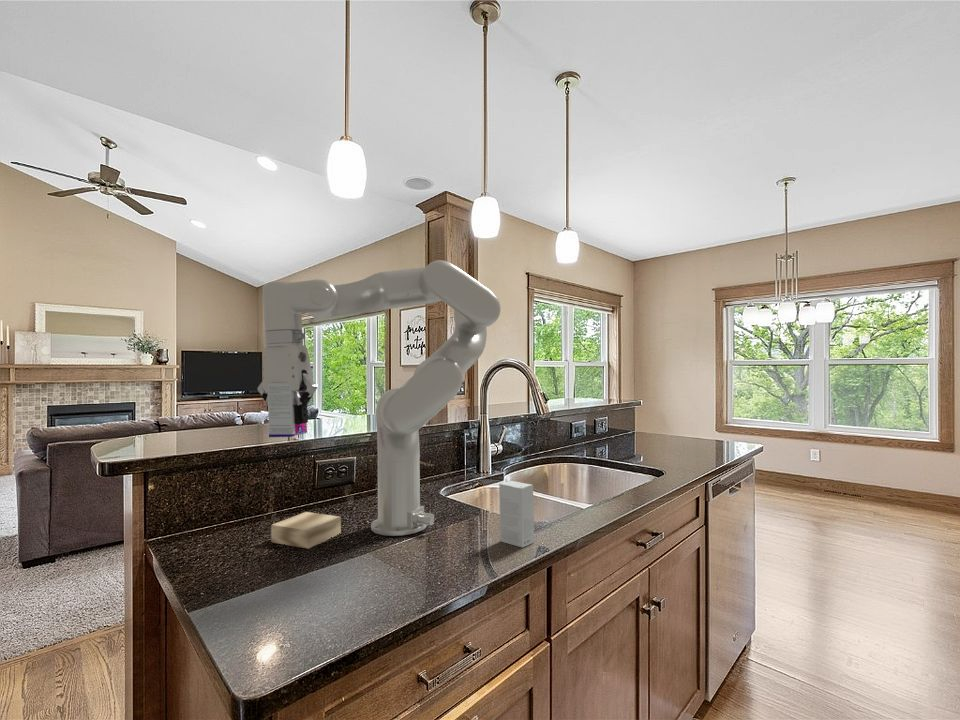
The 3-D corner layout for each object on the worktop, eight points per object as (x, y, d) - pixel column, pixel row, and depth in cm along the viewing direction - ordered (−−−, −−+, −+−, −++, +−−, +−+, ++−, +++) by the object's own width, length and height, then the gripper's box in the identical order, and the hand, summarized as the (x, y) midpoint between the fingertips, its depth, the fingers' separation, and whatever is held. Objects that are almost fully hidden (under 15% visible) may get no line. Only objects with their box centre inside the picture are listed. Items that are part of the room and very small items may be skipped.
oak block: (340, 534, 108) (340, 516, 108) (308, 550, 99) (308, 530, 99) (305, 529, 112) (305, 511, 112) (271, 543, 103) (271, 524, 103)
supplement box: (293, 437, 101) (290, 381, 101) (268, 437, 102) (265, 383, 102) (308, 432, 107) (306, 380, 107) (284, 433, 108) (281, 381, 108)
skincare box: (534, 542, 101) (534, 484, 101) (522, 548, 98) (521, 488, 98) (512, 536, 105) (511, 480, 105) (499, 541, 102) (498, 483, 102)
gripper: (328, 337, 105) (332, 421, 105) (267, 342, 112) (272, 421, 112) (302, 336, 98) (307, 426, 98) (240, 342, 105) (244, 425, 105)
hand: (288, 422), depth 105 cm, fingers closed on supplement box, 6 cm apart
